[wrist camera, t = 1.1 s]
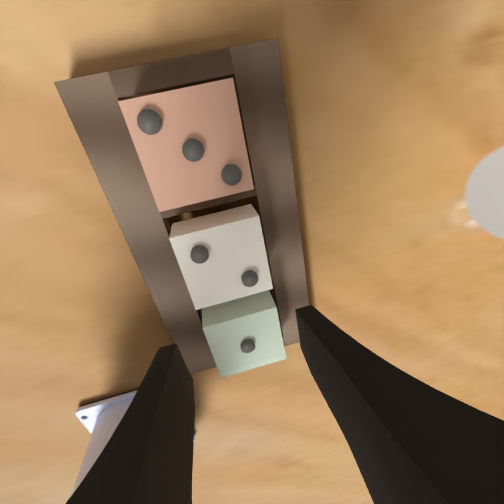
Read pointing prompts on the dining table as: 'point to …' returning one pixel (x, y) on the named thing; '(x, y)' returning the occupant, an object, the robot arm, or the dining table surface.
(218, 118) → the tile three
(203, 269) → the tile two
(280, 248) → the dice tray
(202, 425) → the dining table surface
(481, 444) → the robot arm
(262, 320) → the tile one
